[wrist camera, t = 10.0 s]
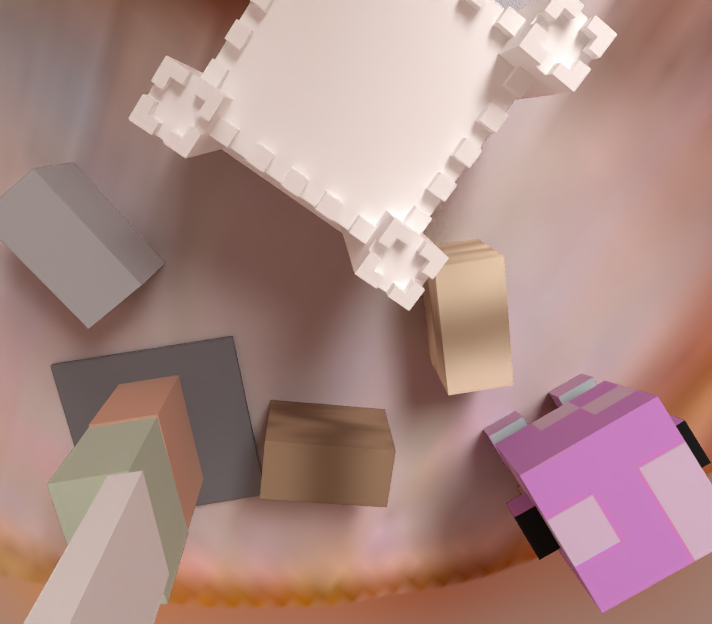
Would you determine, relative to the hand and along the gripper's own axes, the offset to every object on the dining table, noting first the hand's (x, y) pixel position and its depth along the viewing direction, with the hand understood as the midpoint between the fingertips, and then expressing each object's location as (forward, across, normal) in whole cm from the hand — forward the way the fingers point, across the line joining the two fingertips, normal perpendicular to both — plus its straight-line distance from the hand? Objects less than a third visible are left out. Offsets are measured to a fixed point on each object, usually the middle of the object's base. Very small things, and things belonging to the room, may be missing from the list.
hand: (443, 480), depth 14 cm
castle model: (+28, +1, +9) cm, 30 cm away
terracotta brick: (+28, -15, -11) cm, 33 cm away
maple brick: (+28, +6, -5) cm, 29 cm away
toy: (+28, +12, -15) cm, 34 cm away
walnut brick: (+28, -4, -13) cm, 31 cm away
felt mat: (+28, -15, -11) cm, 34 cm away
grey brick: (+28, -16, +3) cm, 33 cm away
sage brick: (+22, -15, -11) cm, 28 cm away
